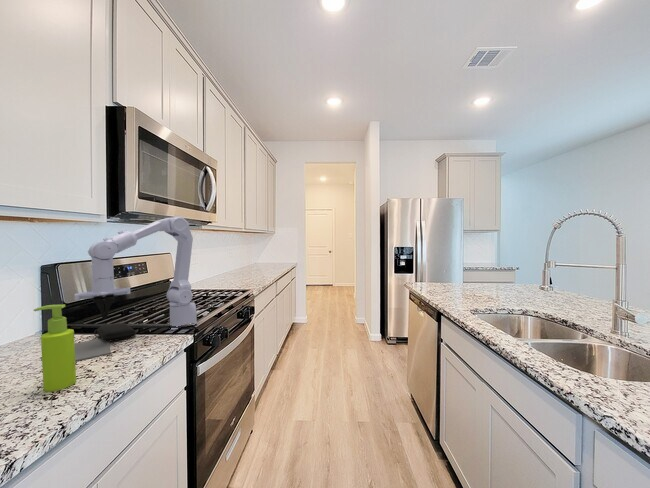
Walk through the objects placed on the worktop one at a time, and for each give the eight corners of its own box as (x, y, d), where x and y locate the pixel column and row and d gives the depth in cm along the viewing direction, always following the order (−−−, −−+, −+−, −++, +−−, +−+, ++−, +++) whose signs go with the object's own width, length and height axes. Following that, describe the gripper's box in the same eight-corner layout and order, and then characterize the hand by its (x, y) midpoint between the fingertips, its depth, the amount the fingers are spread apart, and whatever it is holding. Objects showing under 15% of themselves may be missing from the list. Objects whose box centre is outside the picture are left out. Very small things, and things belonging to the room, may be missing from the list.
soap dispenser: (45, 383, 71) (41, 304, 70) (80, 377, 73) (76, 301, 73) (32, 395, 65) (27, 310, 65) (70, 388, 68) (66, 306, 67)
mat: (108, 337, 102) (108, 336, 102) (110, 353, 88) (110, 352, 88) (55, 348, 93) (55, 347, 93) (48, 367, 79) (48, 366, 79)
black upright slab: (100, 335, 94) (91, 326, 104) (100, 344, 94) (91, 334, 104) (137, 329, 102) (126, 321, 112) (137, 337, 102) (125, 329, 112)
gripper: (73, 281, 86) (75, 325, 86) (130, 276, 95) (132, 316, 95) (74, 279, 91) (76, 320, 92) (128, 274, 100) (130, 312, 101)
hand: (104, 318), depth 94 cm, fingers closed
